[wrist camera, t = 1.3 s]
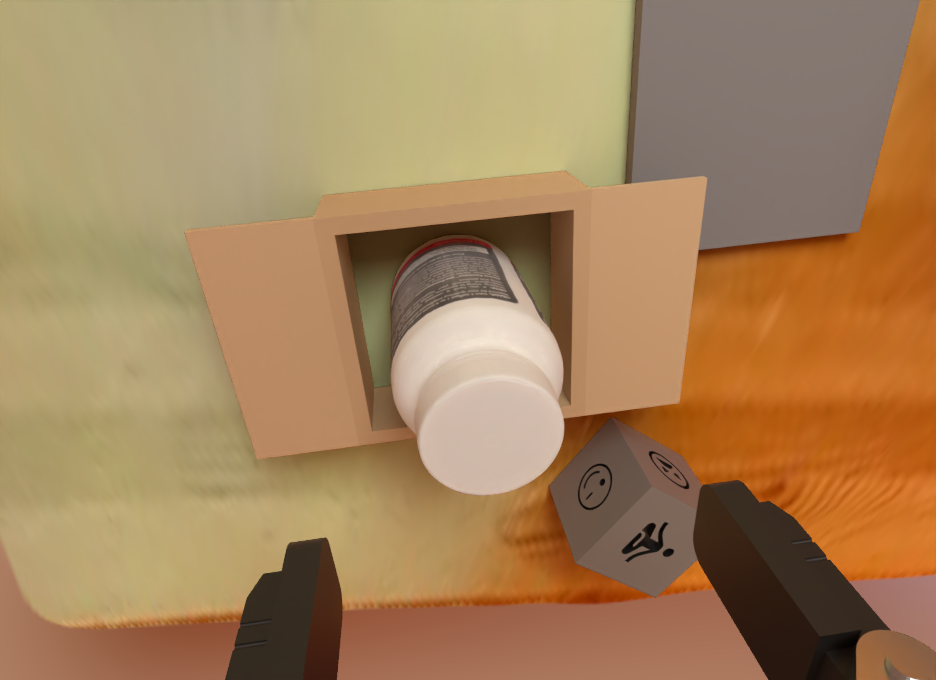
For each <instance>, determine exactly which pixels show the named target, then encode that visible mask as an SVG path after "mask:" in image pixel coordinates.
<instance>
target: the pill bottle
mask: <svg viewBox="0 0 936 680" xmlns="http://www.w3.org/2000/svg"><path fill="white" fill-rule="evenodd" d="M563 372H564V369H563V361H562V356H561V352H560V349H559V347H558V344H557V341H556V339H555V337H554V335H553V333H552V332H551V330H550V328H549V327H548V325H547V323H546V321H545V319H544V318H543V316H542V313H541V312H540V310H539V309H538V307H537V305H536V303H535V301H534V300H533V298H532V296H531V294H530V292H529V291H528V289H527V287H526V285H525V284H524V282H523V280H522V278H521V276H520V274H519V273H518V271H517V269H516V268H515V266H514V265H513V263H512V262H511V260H510V259H509V258H508V256H507V255H506V254H505V253H504V252H503V251H502V250H501V249H499V248H498V247H496V246H495V245H493V244H492V243H490V242H488V241H486V240H484V239H481V238H478V237H475V236H471V235H449V236H442V237H439V238H436V239H432V240H430V241H428V242H426V243H424V244H423V245H421V246H419V247H418V248H416V249H415V250H414V251H412V252H411V253H410V255H409V256H408V257H407V258H406V259H405V260H404V261H403V263H402V264H401V266H400V267H399V269H398V271H397V273H396V276H395V278H394V281H393V285H392V292H391V385H392V393H393V398H394V402H395V405H396V407H397V410H398V412H399V414H400V416H401V418H402V419H403V421H404V422H405V423H406V425H407V426H408V427H409V428H410V429H411V430H412V431H413V432H414V433H415V434H416V436H417V445H418V451H419V454H420V457H421V460H422V463H423V464H424V466H425V468H426V469H427V471H428V472H429V473H430V474H431V475H432V476H433V477H434V478H435V479H436V480H437V481H438V482H440V483H441V484H443V485H444V486H446V487H448V488H450V489H452V490H454V491H457V492H460V493H464V494H470V495H496V494H502V493H506V492H510V491H513V490H515V489H518V488H520V487H522V486H524V485H526V484H528V483H529V482H531V481H533V480H534V479H536V478H537V477H538V476H540V475H541V474H542V473H543V472H544V471H545V470H546V469H547V468H548V467H549V466H550V465H551V463H552V462H553V461H554V459H555V457H556V456H557V454H558V452H559V450H560V448H561V445H562V442H563V437H564V419H563V414H562V411H561V408H560V406H559V403H558V399H559V396H560V393H561V390H562V385H563Z"/></svg>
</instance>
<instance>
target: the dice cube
mask: <svg viewBox="0 0 936 680" xmlns="http://www.w3.org/2000/svg"><path fill="white" fill-rule="evenodd" d="M701 487H702V484H701V483H700V481H699V480H698V478H697V477H696V476H695V474H694V473H693V471H692V470H691V468H690V467H689V465H688V464H687V463H686V461H685V460H684V458H683V457H682V456H681V455H679V454H677V453H676V452H674V451H672V450H670V449H668V448H667V447H665V446H663V445H661V444H660V443H658V442H656V441H654V440H652V439H651V438H649V437H647V436H645V435H644V434H642V433H640V432H638V431H636V430H635V429H633V428H631V427H629V426H627V425H626V424H624V423H622V422H620V421H619V420H617V419H615V418H613V417H611V418H610V419H609V420H608V421H607V422H606V423H605V424H604V425H603V426H602V428H601V429H600V430H599V431H598V432H597V433H596V434H595V435H594V436H593V438H592V439H591V440H590V441H589V442H588V443H587V444H586V445H585V446H584V447H583V449H582V450H581V451H580V452H579V453H578V454H577V455H576V456H575V457H574V459H573V460H572V461H571V462H570V463H569V464H568V465H567V466H566V467H565V469H564V470H563V471H562V472H561V473H560V474H559V475H558V476H557V477H556V479H555V480H554V481H553V482H552V483H551V484H550V485H549V489H550V491H551V494H552V497H553V500H554V503H555V506H556V509H557V512H558V514H559V517H560V520H561V523H562V526H563V529H564V532H565V535H566V537H567V540H568V543H569V546H570V549H571V552H572V555H573V558H574V560H575V563H576V564H578V565H580V566H583V567H585V568H587V569H590V570H592V571H594V572H597V573H599V574H601V575H604V576H606V577H608V578H611V579H613V580H615V581H618V582H620V583H623V584H625V585H627V586H630V587H632V588H634V589H637V590H639V591H641V592H644V593H646V594H648V595H651V596H653V597H655V598H656V597H657V596H658V595H659V594H660V593H661V592H663V591H664V590H665V589H666V588H667V587H668V586H669V585H670V584H671V583H672V582H674V581H675V580H676V579H677V578H678V577H679V576H680V575H681V574H682V573H683V572H685V571H686V570H687V569H688V568H689V567H690V566H691V565H692V564H693V563H694V562H696V561H697V560H698V559H697V556H696V553H695V550H694V545H693V531H694V525H695V518H696V511H697V505H698V498H699V492H700V489H701Z"/></svg>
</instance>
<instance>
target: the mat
mask: <svg viewBox="0 0 936 680" xmlns="http://www.w3.org/2000/svg"><path fill="white" fill-rule="evenodd" d="M919 1H920V0H636V13H635V30H634V47H633V65H632V82H631V99H630V117H629V134H628V151H627V169H626V184H632V183H641V182H651V181H660V180H670V179H679V178H689V177H699V176H704V177H707V186H706V194H705V202H704V210H703V218H702V226H701V234H700V242H699V250H704V249H712V248H721V247H730V246H739V245H747V244H756V243H765V242H774V241H783V240H791V239H800V238H809V237H818V236H826V235H835V234H844V233H853V232H859V230H860V226H861V222H862V219H863V215H864V211H865V207H866V203H867V199H868V196H869V192H870V188H871V184H872V180H873V177H874V173H875V169H876V165H877V161H878V157H879V154H880V150H881V146H882V142H883V138H884V134H885V131H886V127H887V123H888V119H889V115H890V112H891V108H892V104H893V100H894V96H895V92H896V89H897V85H898V81H899V77H900V73H901V69H902V66H903V62H904V58H905V54H906V50H907V47H908V43H909V39H910V35H911V31H912V27H913V24H914V20H915V16H916V12H917V8H918V4H919Z"/></svg>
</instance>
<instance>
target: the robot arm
mask: <svg viewBox="0 0 936 680" xmlns="http://www.w3.org/2000/svg"><path fill="white" fill-rule="evenodd" d="M693 545H694V550H695V553H696V556H697V559H698V561H699V564H700V565H701V567H702V569H703V571H704V572H705V574H706V576H707V577H708V579H709V581H710V582H711V584H712V586H713V587H714V589H715V591H716V592H717V594H718V596H719V598H720V599H721V601H722V603H723V604H724V606H725V607H726V609H727V611H728V613H729V614H730V616H731V618H732V619H733V621H734V623H735V624H736V626H737V628H738V629H739V631H740V633H741V634H742V636H743V638H744V640H745V641H746V643H747V645H748V646H749V648H750V650H751V651H752V653H753V654H754V656H755V658H756V660H757V661H758V663H759V665H760V666H761V668H762V670H763V672H764V673H765V675H766V677H767V678H768V680H936V652H935V651H934V650H932V649H931V648H930V647H928V646H927V645H925V644H924V643H922V642H920V641H918V640H916V639H915V638H912V637H910V636H908V635H905V634H902V633H899V632H895V631H891V630H890V629H889V628H888V627H887V626H886V625H885V624H884V623H883V621H882V620H881V619H880V618H879V617H878V615H877V614H876V613H875V612H874V611H873V610H872V608H871V607H870V606H869V605H868V604H867V603H866V601H865V600H864V599H863V598H862V597H861V596H860V594H859V593H858V592H857V591H856V590H855V589H854V587H853V586H852V585H851V584H850V583H849V582H848V580H847V579H846V578H845V577H844V576H843V574H842V573H841V572H840V571H839V570H838V569H837V567H836V566H835V565H834V564H833V563H832V562H831V560H827V558H826V555H825V553H824V552H823V551H822V550H821V549H820V548H819V546H818V545H817V544H816V543H815V542H814V543H813V542H812V538H811V537H810V536H809V535H808V534H807V532H806V531H805V530H804V529H803V528H802V527H801V525H800V524H799V523H798V522H797V521H796V520H795V518H794V517H792V516H791V515H789V514H788V513H786V512H785V511H783V510H782V509H780V508H779V507H777V506H776V505H774V504H773V503H771V502H770V501H767V502H760V503H759V501H758V500H757V499H756V498H755V496H754V495H753V494H752V493H751V491H750V490H749V489H748V488H747V487H746V485H745V484H744V483H742V482H741V481H739V480H734V481H727V482H720V483H713V484H706V485H703V486H702V487H701V489H700V492H699V498H698V505H697V511H696V518H695V525H694V531H693ZM240 624H241V625H240V628H239V630H238V634H237V637H236V641H235V650H233V652H232V656H231V660H230V663H229V667H228V671H227V675H226V679H225V680H337V672H338V660H339V649H340V638H341V627H342V594H341V588H340V584H339V580H338V576H337V572H336V568H335V565H334V561H333V557H332V553H331V549H330V546H329V542H328V540H327V538H319V539H312V540H305V541H298V542H291V543H289V544H288V546H287V549H286V554H285V558H284V563H283V568H282V571H279V572H272V573H266V574H263V575H262V577H261V578H260V580H259V581H258V582H257V584H256V585H255V587H254V588H253V590H252V591H251V593H250V594H249V595H248V597H247V600H246V603H245V607H244V611H243V615H242V618H241V622H240Z"/></svg>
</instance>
